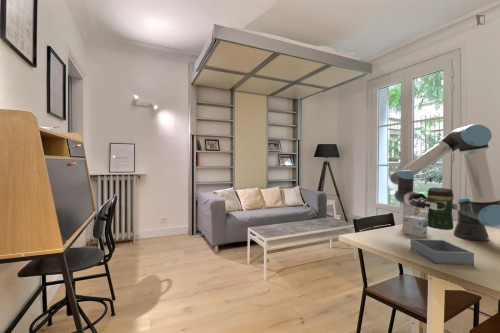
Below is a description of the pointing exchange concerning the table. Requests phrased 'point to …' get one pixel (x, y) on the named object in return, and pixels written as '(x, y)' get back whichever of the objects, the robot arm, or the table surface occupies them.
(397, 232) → the table surface
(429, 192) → the coffee jar
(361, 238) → the table surface
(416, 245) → the tray
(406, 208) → the cracker box
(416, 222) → the light bulb box
